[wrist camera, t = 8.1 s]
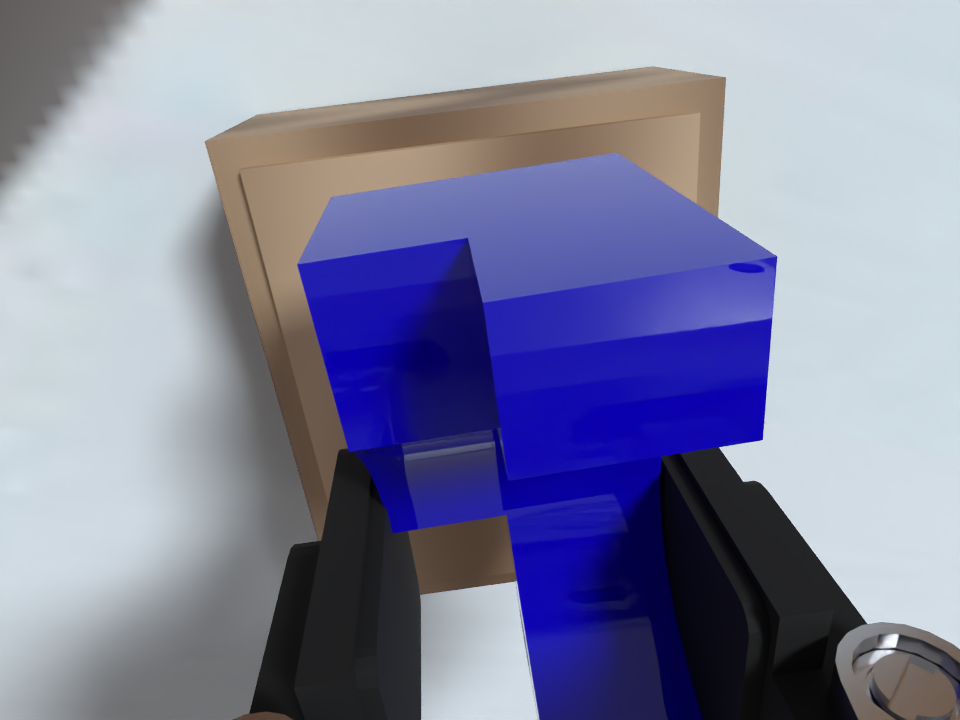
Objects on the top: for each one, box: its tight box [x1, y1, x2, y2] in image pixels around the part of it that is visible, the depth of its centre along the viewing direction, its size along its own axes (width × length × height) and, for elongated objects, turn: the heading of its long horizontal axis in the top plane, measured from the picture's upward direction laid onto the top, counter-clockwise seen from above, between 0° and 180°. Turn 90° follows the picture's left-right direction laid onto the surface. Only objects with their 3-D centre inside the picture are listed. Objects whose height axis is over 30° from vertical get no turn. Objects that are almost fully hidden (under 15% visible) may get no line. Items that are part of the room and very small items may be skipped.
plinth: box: [205, 67, 726, 595], centre depth 15 cm, size 9×11×4 cm
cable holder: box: [297, 153, 777, 720], centre depth 8 cm, size 8×4×4 cm, turn 8°
